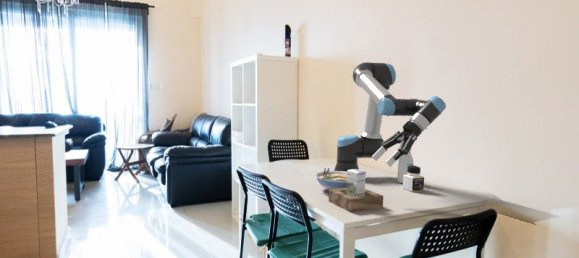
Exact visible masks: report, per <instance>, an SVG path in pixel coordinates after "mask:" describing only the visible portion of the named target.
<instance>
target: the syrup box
mask: <svg viewBox="0 0 579 258" xmlns="http://www.w3.org/2000/svg"><path fill="white" fill-rule="evenodd" d="M366 173H367V172H366V170H362V169H359V170H358V169H351V170H347V191H346V194H347V195H349V196H352V197H357V196H365V189H366V177H367V174H366Z"/></svg>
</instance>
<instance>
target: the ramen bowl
mask: <svg viewBox="0 0 579 258" xmlns="http://www.w3.org/2000/svg"><path fill="white" fill-rule="evenodd" d="M314 175H315V178H316V180H317V182H318V183H319V185H320V186H321V187H323V188H325V189H328V191H329V190H332V189H342V188H347V172H344V171H334V170H330V168H329V167H327V168H326V167H324V170H322V171H318V172H316V173H314Z"/></svg>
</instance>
